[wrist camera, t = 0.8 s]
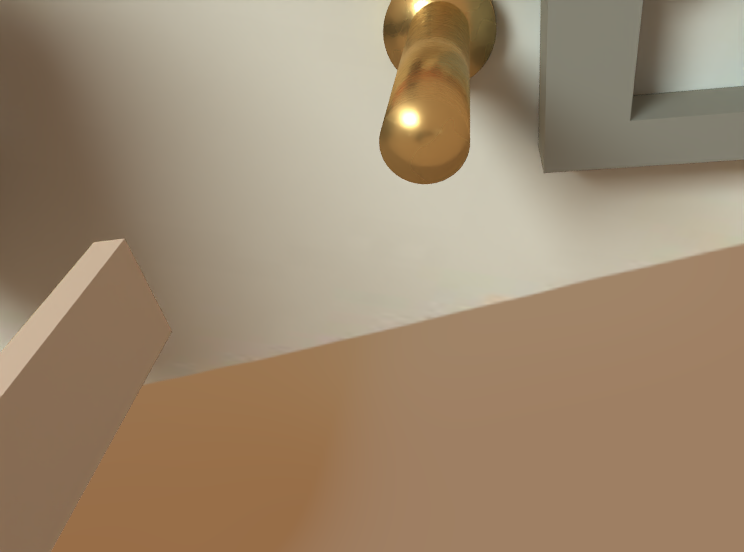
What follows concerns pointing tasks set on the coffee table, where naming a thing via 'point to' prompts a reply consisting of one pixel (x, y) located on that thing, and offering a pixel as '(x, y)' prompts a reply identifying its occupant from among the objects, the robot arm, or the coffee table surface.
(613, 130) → the keyhole board
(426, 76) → the brass peg
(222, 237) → the coffee table surface
